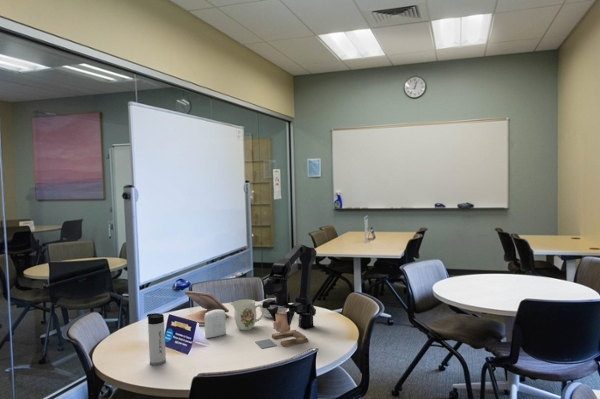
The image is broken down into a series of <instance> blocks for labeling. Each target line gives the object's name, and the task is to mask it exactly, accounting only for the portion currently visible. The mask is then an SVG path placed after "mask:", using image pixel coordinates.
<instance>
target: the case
mask: <svg viewBox="0 0 600 399" xmlns="http://www.w3.org/2000/svg"><path fill="white" fill-rule="evenodd" d="M184 294H185V295H186V296H187V297H188V298H190V300H191V301H193V302H195V303H196V304H197V305H198V306H199V307H201V308H202V309H203V310H199V311H197V312H193V313H190V314H187V315H184V316H183V317H184V318H187V319H191V320H194V321H197V322H198V323H199V326H198V327H205V313H207V312H209V311H212V310H224V311H225V317H226V318H228V317H229V314H227V313H230V310H229V309H228V308H227V307H226V306H225V305H224V304H223V303H222V302H220V301H219V300H218V299H217V297H215V296H214V295H213V294H211V293H208V292H200V291H192V290H191V291H190V290H185V291H184Z"/></svg>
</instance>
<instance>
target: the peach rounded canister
mask: <svg viewBox="0 0 600 399" xmlns="http://www.w3.org/2000/svg"><path fill="white" fill-rule="evenodd" d="M286 312H287V311H282V312H277V313H275V319H276V321H273V323H272V324H273V325H272V326H273V330H275V331H276V332H277V333H280V332H288V331H291V325H290V326H289V325H288V320H287V313H286Z"/></svg>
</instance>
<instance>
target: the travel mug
mask: <svg viewBox="0 0 600 399" xmlns="http://www.w3.org/2000/svg"><path fill="white" fill-rule="evenodd" d="M146 317H147V322H148V323H147V328H148V332H147V333H148V348H149V349H148V350H149V351H148V352H149V354H148V355H149V364H150V365H152V366H158V365H163V364H164V363H165V362H166V361H167V357H166V356H167V355H166V354H167V353H166V337H165V336H166V335H165V334H166V333H165V332H166V330H165V316H164V314H163V313H159V312H158V313H155V312H154V313H147V315H146Z"/></svg>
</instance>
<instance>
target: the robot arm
mask: <svg viewBox="0 0 600 399" xmlns="http://www.w3.org/2000/svg"><path fill="white" fill-rule="evenodd" d="M317 254H318V253H317V250H316V249H315V247H309V246H306V245H304V244H294V245H293V248H292V249H291V250H290V251H289V252H288V253H287V254H286V255H285V256H284V257H283V258H281V259H278V260H277V261H275V262H274V263H273V264H272V266H271V270H270V272H269V275H268V279H267V280H266V282H265V284H264V285H263V288H262V289H263V292H264V294H265V295H267V296H274V297H275V298H276V301H275V300H271V299H270V298H267V299H268V300H266V301H264V302H263V303H262V308H268V309H267V310H268V311H269V313H270V314H271V316H272V318H271V319H273V322H275V321H276V319H275V313H277V310H278V307H281V308H288V310H287V311H285V312H286V313H287V320H288V325H289V326H290V327H291V325H292V321H293V317H294V315H295V314H296V315H299V316H298V325H297V326H298V327H300V329H302V330H307V329H312V328H316V326H315V325H314V316H316V313H317V309H316V308H315V307H314V305H313V299H312V296H311V294H310V292H311V278H312V269H313V268H312V267H313V264H314V263H315V262H316V258H317ZM298 259H299V262H300V264H301V271H300V272H301V273H300V285H299V294H298V296H297V297H296V295H293V294H291V292H290V291H289V286H288V285H289V284H288V281H289V279H290V278H291V276H289V274H290V273H291V271H292V266H293V264H294V263H295V262H296V261H297V260H298Z"/></svg>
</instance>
